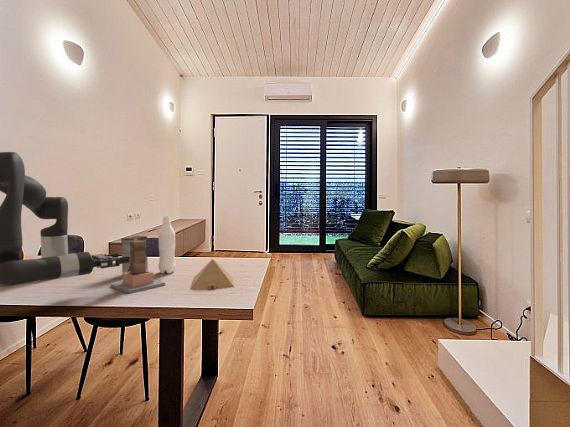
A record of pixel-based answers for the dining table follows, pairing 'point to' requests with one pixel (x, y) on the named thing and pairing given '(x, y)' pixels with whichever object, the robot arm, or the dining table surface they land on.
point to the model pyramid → (212, 277)
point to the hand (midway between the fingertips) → (123, 257)
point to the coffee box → (126, 250)
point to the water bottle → (166, 247)
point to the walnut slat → (137, 257)
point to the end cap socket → (137, 282)
